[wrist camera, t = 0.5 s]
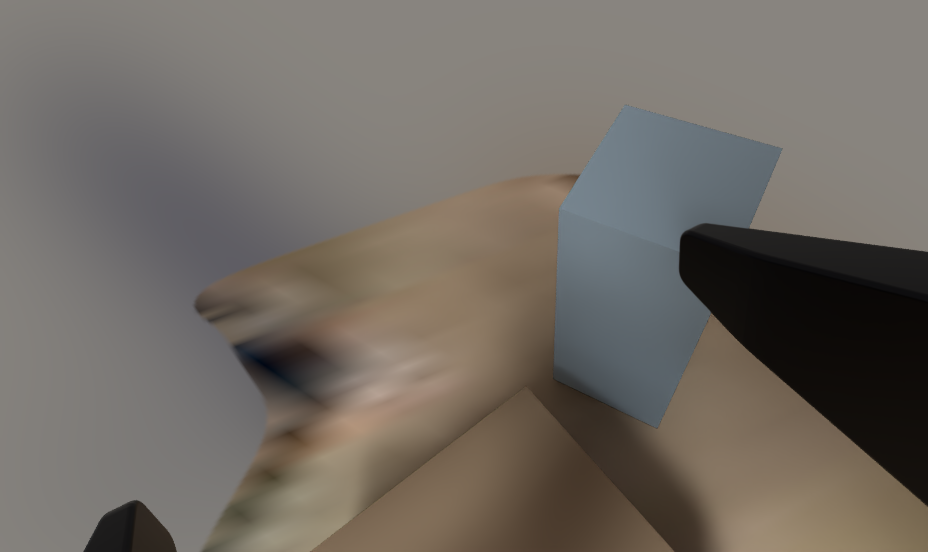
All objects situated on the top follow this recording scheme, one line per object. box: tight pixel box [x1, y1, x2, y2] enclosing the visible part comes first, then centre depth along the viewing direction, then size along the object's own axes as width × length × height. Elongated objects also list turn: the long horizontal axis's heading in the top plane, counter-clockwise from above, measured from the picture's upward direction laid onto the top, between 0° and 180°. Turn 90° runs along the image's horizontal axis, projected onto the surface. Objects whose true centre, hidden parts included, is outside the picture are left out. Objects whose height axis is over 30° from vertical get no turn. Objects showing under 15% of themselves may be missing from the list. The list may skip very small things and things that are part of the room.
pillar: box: [553, 105, 782, 428], centre depth 20 cm, size 4×4×11 cm
